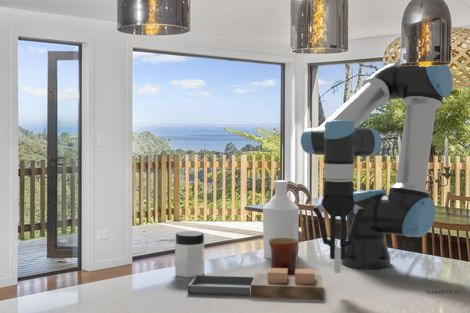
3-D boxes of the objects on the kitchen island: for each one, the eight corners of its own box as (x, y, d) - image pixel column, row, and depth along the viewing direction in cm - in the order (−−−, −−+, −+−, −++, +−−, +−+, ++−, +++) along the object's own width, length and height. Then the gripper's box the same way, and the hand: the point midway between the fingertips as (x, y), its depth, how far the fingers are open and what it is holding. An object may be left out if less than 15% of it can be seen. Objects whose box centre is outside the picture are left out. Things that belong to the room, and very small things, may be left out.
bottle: (300, 252, 204) (300, 179, 203) (296, 260, 192) (296, 183, 191) (266, 251, 207) (266, 179, 205) (259, 258, 195) (259, 182, 194)
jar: (180, 279, 169) (179, 237, 169) (170, 272, 177) (170, 232, 176) (209, 275, 173) (209, 234, 172) (199, 269, 180) (199, 230, 180)
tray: (253, 284, 163) (253, 276, 163) (249, 296, 152) (249, 287, 152) (196, 282, 165) (196, 275, 165) (187, 294, 154) (187, 285, 154)
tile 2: (314, 278, 158) (314, 269, 158) (314, 283, 153) (314, 273, 153) (295, 277, 158) (295, 268, 158) (294, 282, 153) (294, 273, 153)
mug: (289, 281, 167) (289, 244, 166) (262, 276, 172) (262, 241, 171) (309, 272, 177) (309, 238, 176) (284, 268, 182) (284, 234, 181)
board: (321, 286, 161) (321, 275, 161) (322, 299, 149) (322, 287, 149) (255, 284, 163) (255, 273, 163) (250, 296, 152) (250, 285, 151)
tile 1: (287, 277, 159) (287, 268, 159) (286, 282, 154) (287, 272, 154) (268, 277, 159) (268, 267, 159) (267, 281, 154) (267, 272, 154)
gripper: (363, 179, 156) (361, 269, 157) (312, 178, 158) (311, 267, 159) (365, 181, 149) (364, 276, 150) (312, 181, 150) (311, 274, 151)
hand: (337, 271), depth 154 cm, fingers closed
